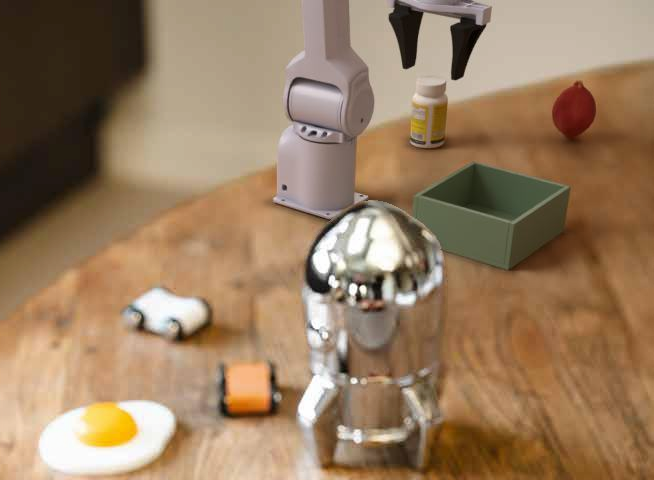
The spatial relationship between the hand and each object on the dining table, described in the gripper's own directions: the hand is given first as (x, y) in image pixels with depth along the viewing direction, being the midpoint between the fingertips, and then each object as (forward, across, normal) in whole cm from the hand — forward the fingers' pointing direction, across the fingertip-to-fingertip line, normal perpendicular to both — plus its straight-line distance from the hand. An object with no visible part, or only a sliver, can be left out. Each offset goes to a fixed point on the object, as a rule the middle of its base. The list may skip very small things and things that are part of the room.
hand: (432, 72), depth 160 cm
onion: (+10, -15, -13) cm, 22 cm away
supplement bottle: (+10, 0, 0) cm, 10 cm away
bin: (+9, -22, +21) cm, 32 cm away
